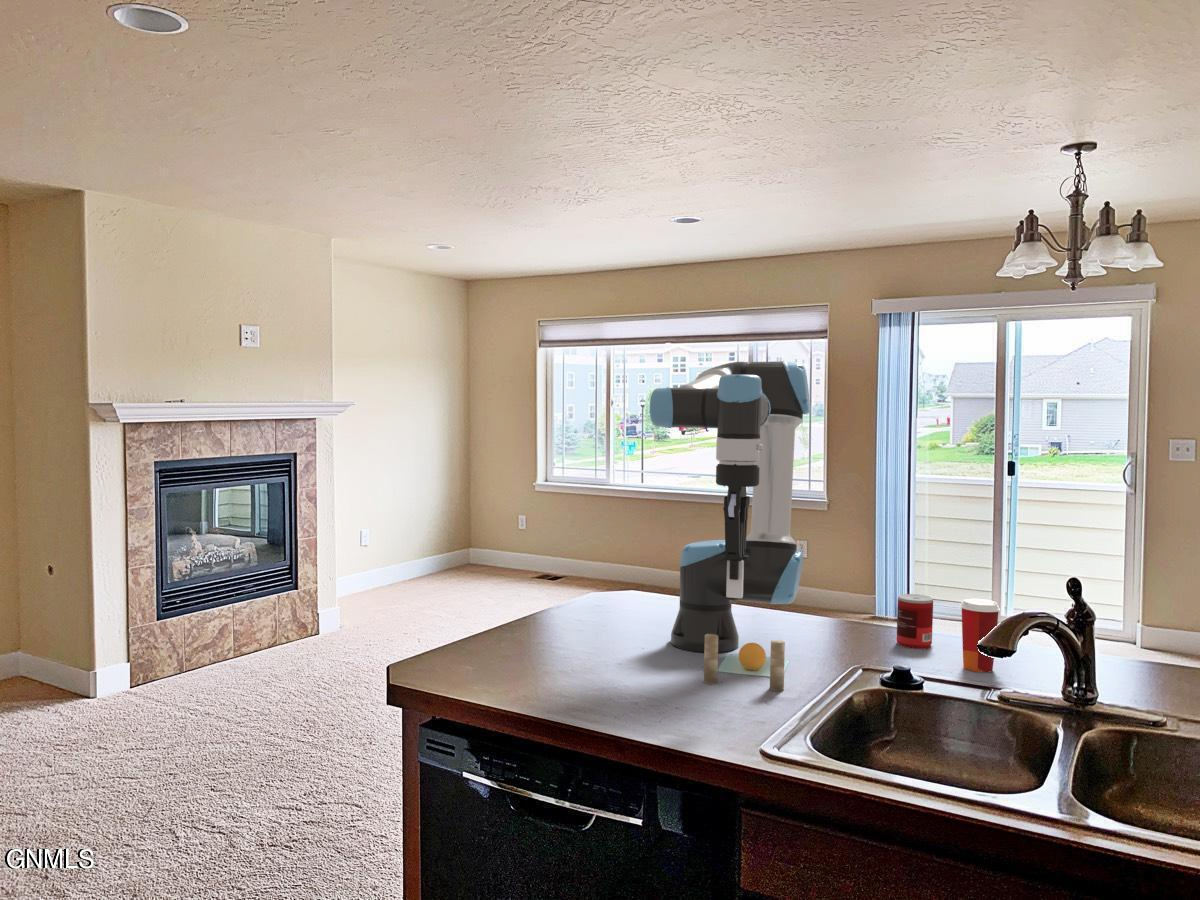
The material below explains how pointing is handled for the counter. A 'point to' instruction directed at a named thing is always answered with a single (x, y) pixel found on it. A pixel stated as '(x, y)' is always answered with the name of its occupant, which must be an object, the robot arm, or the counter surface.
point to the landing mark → (734, 666)
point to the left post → (711, 658)
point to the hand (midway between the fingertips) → (734, 596)
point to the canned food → (914, 621)
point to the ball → (752, 656)
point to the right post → (777, 665)
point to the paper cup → (977, 632)
